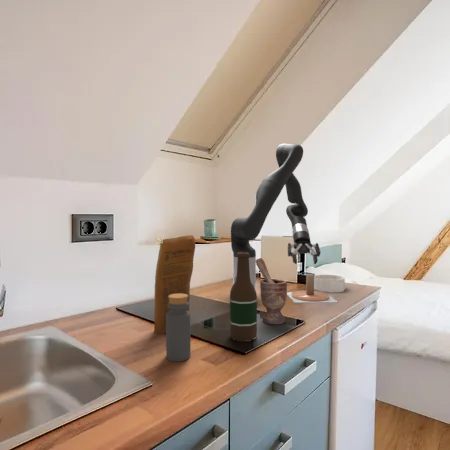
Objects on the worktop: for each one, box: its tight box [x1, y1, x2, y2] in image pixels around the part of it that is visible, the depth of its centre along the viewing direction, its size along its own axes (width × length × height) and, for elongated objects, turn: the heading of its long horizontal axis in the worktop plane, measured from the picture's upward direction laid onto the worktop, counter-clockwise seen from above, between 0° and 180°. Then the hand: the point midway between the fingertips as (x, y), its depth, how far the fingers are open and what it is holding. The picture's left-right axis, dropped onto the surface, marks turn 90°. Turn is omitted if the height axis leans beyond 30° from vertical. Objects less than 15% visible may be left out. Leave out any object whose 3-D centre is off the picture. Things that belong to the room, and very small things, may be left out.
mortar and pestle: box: [256, 257, 288, 325], centre depth 110 cm, size 12×9×20 cm
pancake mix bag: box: [153, 234, 196, 335], centre depth 103 cm, size 7×19×28 cm, turn 148°
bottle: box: [165, 293, 191, 362], centre depth 82 cm, size 6×6×15 cm
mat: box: [287, 291, 338, 304], centre depth 139 cm, size 17×17×1 cm
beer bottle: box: [229, 252, 258, 341], centre depth 94 cm, size 8×8×24 cm
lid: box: [291, 273, 330, 303], centre depth 139 cm, size 15×15×9 cm
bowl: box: [314, 274, 346, 293], centre depth 154 cm, size 13×13×6 cm
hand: (305, 262), depth 148 cm, fingers open, 8 cm apart
